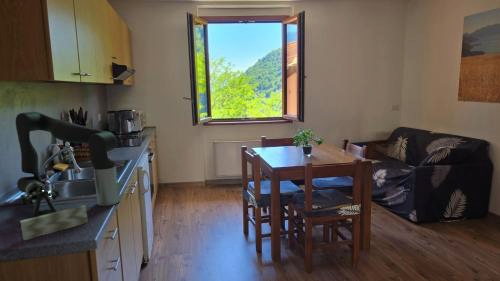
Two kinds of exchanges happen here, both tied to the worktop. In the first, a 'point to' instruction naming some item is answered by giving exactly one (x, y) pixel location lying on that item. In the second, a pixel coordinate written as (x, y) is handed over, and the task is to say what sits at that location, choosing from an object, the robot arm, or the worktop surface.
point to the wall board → (53, 222)
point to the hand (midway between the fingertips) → (43, 200)
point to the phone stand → (37, 204)
